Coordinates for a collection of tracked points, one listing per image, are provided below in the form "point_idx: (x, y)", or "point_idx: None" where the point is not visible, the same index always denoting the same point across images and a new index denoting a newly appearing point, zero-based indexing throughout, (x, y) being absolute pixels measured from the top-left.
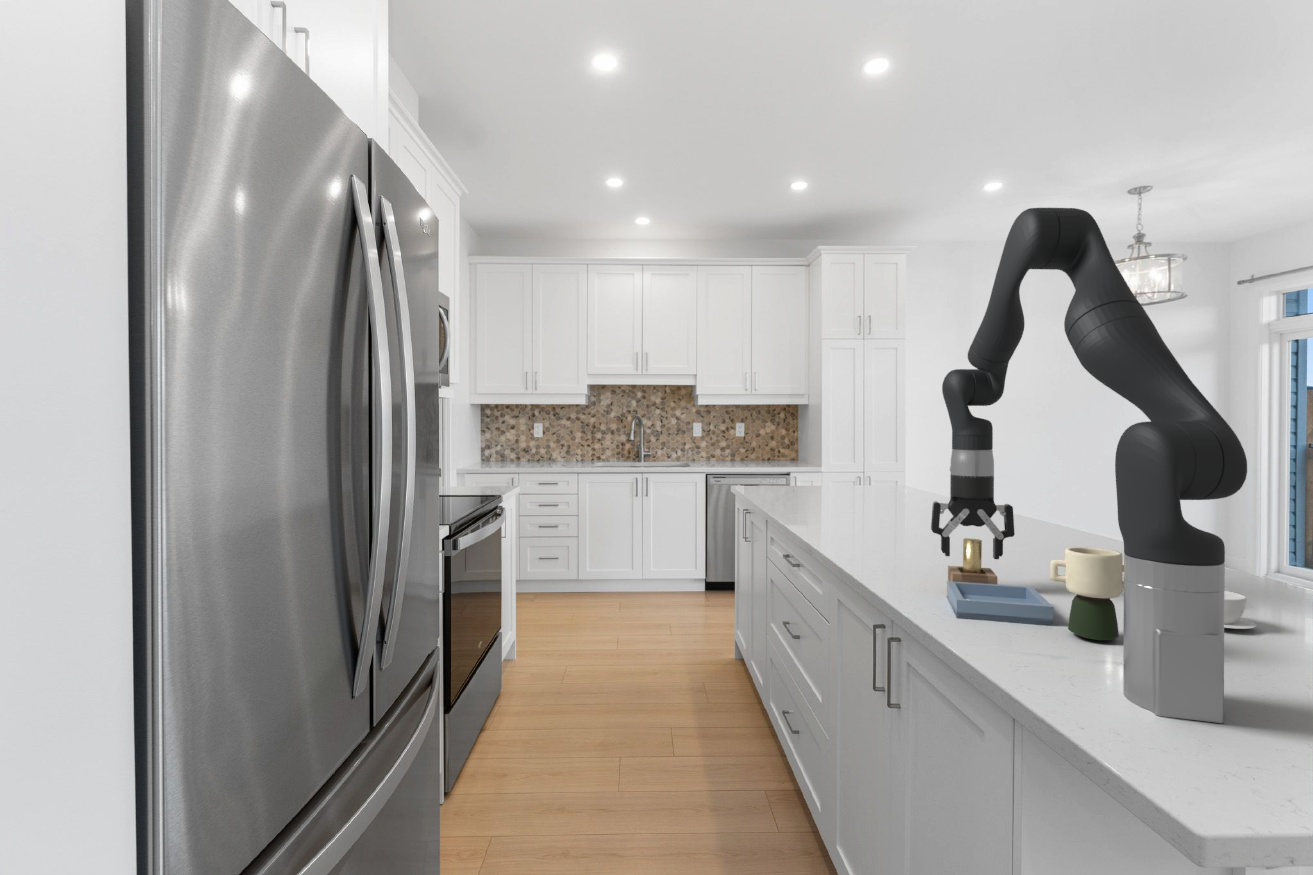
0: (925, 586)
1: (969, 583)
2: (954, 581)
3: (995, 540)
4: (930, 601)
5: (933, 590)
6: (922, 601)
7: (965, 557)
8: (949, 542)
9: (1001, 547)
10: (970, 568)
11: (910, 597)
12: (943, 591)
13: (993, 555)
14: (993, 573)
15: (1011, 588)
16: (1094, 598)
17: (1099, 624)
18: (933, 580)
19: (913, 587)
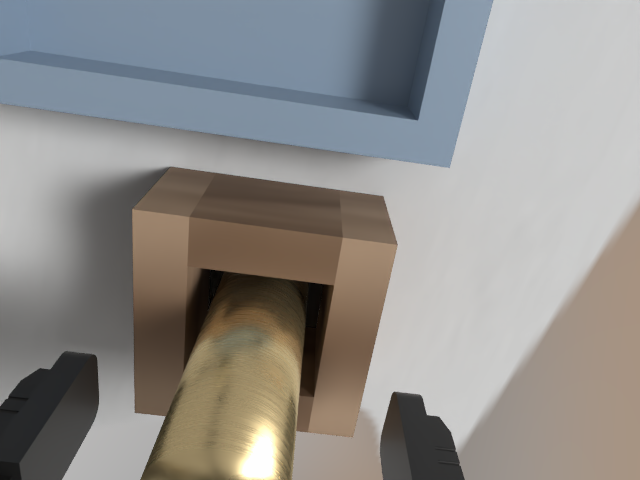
0: (458, 339)
1: (327, 122)
2: (381, 223)
3: (18, 460)
4: (558, 30)
5: (447, 272)
6: (605, 22)
7: (291, 373)
8: (413, 470)
9: (2, 416)
10: (270, 310)
11: (633, 107)
12: (404, 260)
13: (91, 410)
14: (141, 287)
15: (85, 69)
16: None
17: None
18: None
19: (524, 314)
